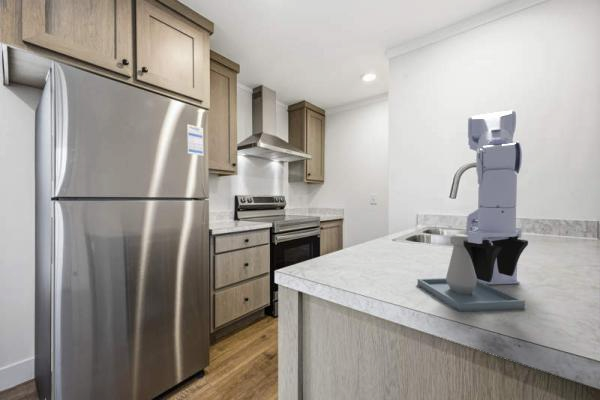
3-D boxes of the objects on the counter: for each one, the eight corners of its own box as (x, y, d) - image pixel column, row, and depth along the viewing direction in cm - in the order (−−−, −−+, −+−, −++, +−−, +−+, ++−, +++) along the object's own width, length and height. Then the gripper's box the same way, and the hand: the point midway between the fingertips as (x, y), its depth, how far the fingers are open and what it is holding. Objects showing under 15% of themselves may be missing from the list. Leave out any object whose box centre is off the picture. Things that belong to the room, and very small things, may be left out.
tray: (469, 282, 63) (469, 277, 63) (524, 308, 49) (524, 300, 49) (417, 285, 61) (417, 279, 61) (459, 311, 47) (459, 304, 47)
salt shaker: (480, 298, 52) (481, 237, 52) (450, 295, 54) (451, 236, 54) (470, 288, 58) (471, 233, 58) (442, 285, 60) (443, 232, 59)
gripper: (493, 205, 54) (492, 266, 54) (451, 207, 48) (450, 276, 48) (535, 207, 48) (533, 276, 48) (493, 209, 41) (491, 288, 42)
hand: (495, 277), depth 47 cm, fingers open, 7 cm apart
